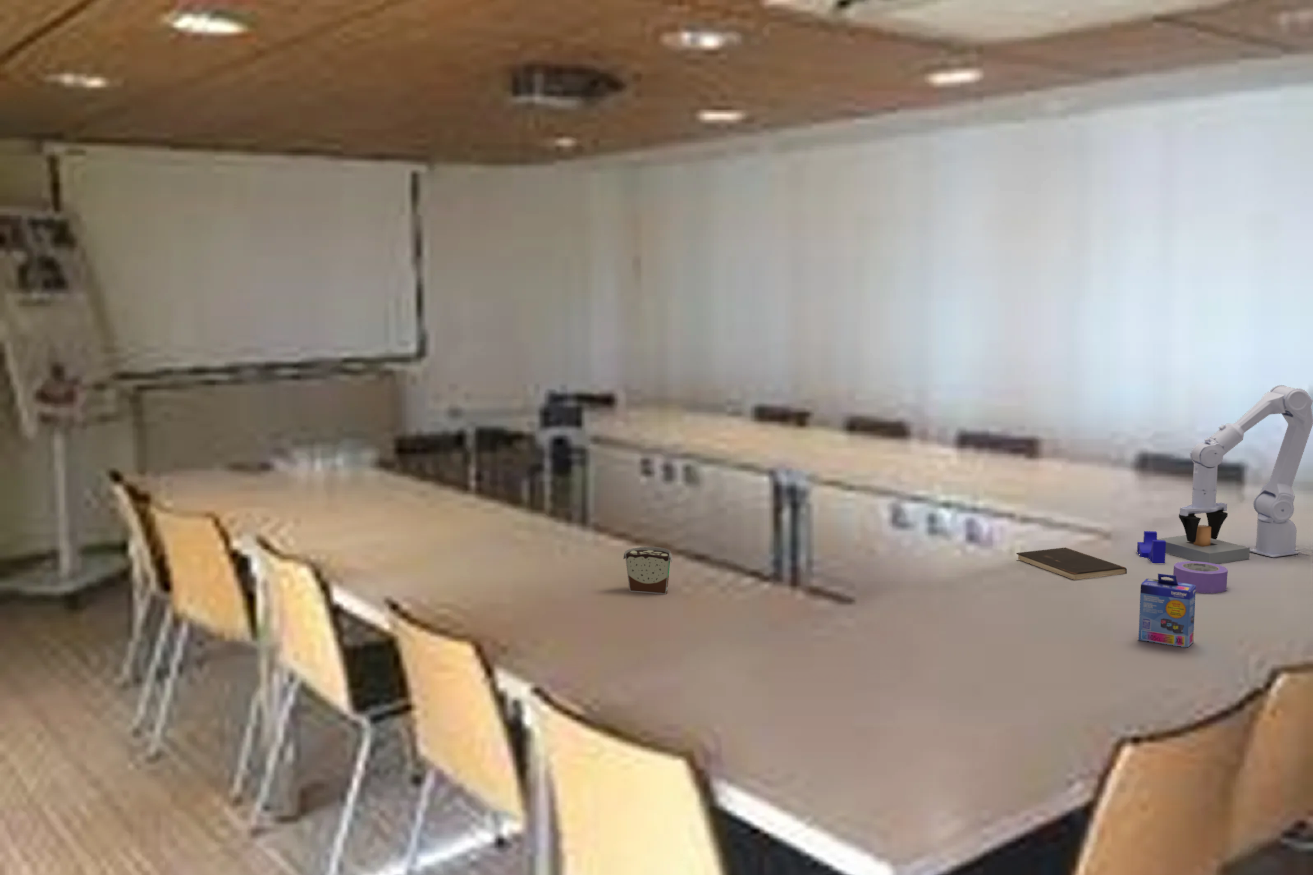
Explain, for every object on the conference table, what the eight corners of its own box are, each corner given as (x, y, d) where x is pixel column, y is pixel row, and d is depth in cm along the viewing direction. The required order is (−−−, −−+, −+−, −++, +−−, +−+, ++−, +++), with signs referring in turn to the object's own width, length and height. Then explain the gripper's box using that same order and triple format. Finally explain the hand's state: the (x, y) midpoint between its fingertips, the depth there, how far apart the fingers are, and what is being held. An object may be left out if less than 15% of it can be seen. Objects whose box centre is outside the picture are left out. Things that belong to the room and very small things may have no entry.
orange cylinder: (1201, 550, 325) (1202, 524, 324) (1213, 553, 321) (1214, 527, 320) (1189, 551, 323) (1191, 525, 322) (1201, 554, 319) (1203, 528, 319)
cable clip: (1137, 553, 326) (1137, 530, 325) (1154, 553, 325) (1155, 531, 324) (1146, 564, 314) (1147, 541, 313) (1164, 564, 313) (1165, 541, 313)
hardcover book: (1073, 582, 299) (1073, 573, 299) (1016, 561, 321) (1016, 552, 320) (1126, 576, 304) (1127, 567, 304) (1066, 555, 326) (1067, 547, 326)
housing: (1194, 544, 333) (1194, 533, 333) (1249, 559, 317) (1249, 547, 316) (1154, 550, 328) (1155, 539, 327) (1208, 565, 311) (1209, 553, 311)
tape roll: (1226, 583, 294) (1227, 563, 294) (1226, 596, 284) (1227, 575, 283) (1173, 579, 299) (1174, 559, 299) (1171, 591, 289) (1172, 570, 288)
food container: (680, 588, 298) (679, 548, 296) (672, 594, 292) (671, 553, 291) (632, 584, 302) (631, 545, 300) (623, 591, 296) (622, 550, 295)
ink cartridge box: (1136, 641, 252) (1139, 572, 250) (1143, 634, 256) (1146, 566, 254) (1188, 649, 246) (1191, 578, 244) (1194, 641, 251) (1197, 572, 248)
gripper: (1195, 494, 313) (1193, 546, 315) (1237, 489, 319) (1234, 540, 321) (1174, 489, 320) (1172, 540, 322) (1215, 484, 325) (1213, 534, 327)
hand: (1202, 540), depth 322 cm, fingers open, 7 cm apart
